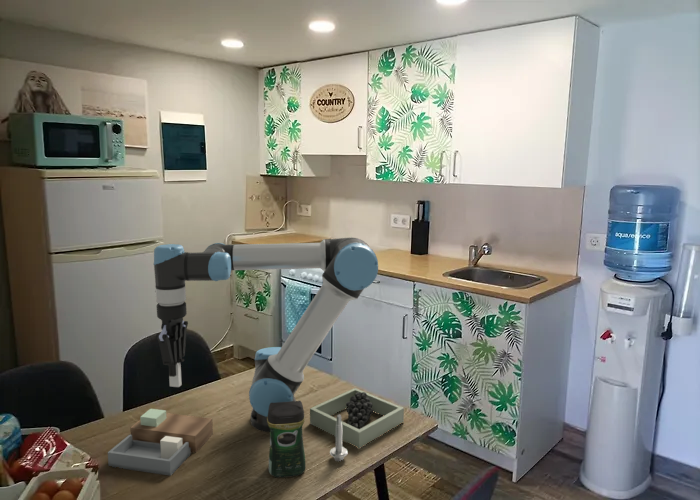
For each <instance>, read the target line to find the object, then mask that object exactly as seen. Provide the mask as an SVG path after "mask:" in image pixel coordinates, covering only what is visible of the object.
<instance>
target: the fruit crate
mask: <svg viewBox="0 0 700 500" xmlns="http://www.w3.org/2000/svg"><path fill="white" fill-rule="evenodd" d="M358 392H360V393H362V392H365V393H366V394H367V396H366V397H368V398H369V399H370V402H371V403H372V405H373V406H372V409H373V411H374V412H376V413H379V414H381V415H384V416H381V415H380V416H381V417H379V418H377V419H375V420H374V421H372V422H370V423H368V424H366V425H364V426H363V427H360V429H357V428H355V427H353V426H351V425H349V423H348V422H347V423H346V422H345V421H343V420H341V423H342V441H343V440H344V441H343V442H345V441H346V442H345V443H347V442H348V443H351V444H353V445H355V446H357V447H358V448H360V447H362V446H363V445H365V444H367V443H368V442H370V441H372V440H374V439H375V438H377V437H379V436H380V435H382V434H384V433H385V432H387V431H388V430H390V429H392V428H394V427H396V426H397V425H399V424H400V423H402V422H403V423H404V418H405V417H404V414H405V407H403V406H401V405H397V404H395V403H393V402H390V401H388V400H385V399H384V398H382V397H378V396H376V395H374V394H371V393H368V392H366V391H364V390H361V389H359V388H357V387H354V388H351V389H349V390H347V391H345V392H343V393H341V394H338V395H337V396H334V397H332V398H330V399H328V400H325V401H323V402H321V403H319V404H316V405H315V406H313V407H310V408H309V424H310V425H312V426H314V427H315V426H316V428H317V427H318V429H319V428H320V430H321V429H322V430H321V431H323V430H324V431H323V432H325V431H326V432H325V433H327V432H328V433H327V434H329V433H330V434H329V435H331V434H332V436H333V435H334V436H333V437H334V438H336V422H337V417H334V415H336V414H338V413H340V412H342V411H344V410H346V409H347V406H346V403H347V402H350V398H351V397H352V396H355V394H356V393H358ZM360 401H361V400H360ZM360 401H359V400H358V402H360ZM345 408H346V409H345ZM343 409H344V410H343ZM341 410H342V411H341ZM339 411H340V412H339ZM337 412H338V413H337ZM374 412H373V413H374ZM335 413H336V414H335ZM376 413H375V414H376ZM333 414H334V415H333ZM379 414H378V415H379ZM331 415H332V416H331ZM399 426H400V425H399ZM396 428H397V427H396ZM394 429H395V428H394ZM392 430H393V429H392ZM387 433H388V432H387ZM384 435H385V434H384ZM382 436H383V435H382ZM379 438H380V437H379ZM377 439H378V438H377ZM375 440H376V439H375ZM375 440H374V441H375ZM372 442H373V441H372ZM348 443H347V444H348ZM370 443H371V442H370ZM367 445H368V444H367ZM365 446H366V445H365ZM358 448H357V449H358ZM362 448H363V447H362ZM360 449H361V448H360Z"/></svg>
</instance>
